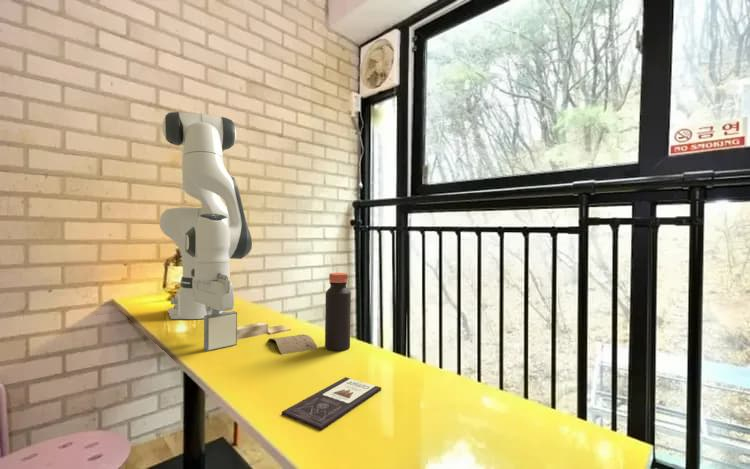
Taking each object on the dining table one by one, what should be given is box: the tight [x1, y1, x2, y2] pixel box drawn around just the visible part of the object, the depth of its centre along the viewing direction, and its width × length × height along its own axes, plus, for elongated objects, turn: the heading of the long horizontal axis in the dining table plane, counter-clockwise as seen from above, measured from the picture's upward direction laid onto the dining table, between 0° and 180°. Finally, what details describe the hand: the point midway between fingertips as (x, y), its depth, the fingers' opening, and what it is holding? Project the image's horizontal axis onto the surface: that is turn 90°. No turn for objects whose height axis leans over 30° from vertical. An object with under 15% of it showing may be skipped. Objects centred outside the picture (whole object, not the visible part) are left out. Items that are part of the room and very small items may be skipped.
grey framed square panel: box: [203, 310, 238, 352], centre depth 98 cm, size 2×8×9 cm, turn 135°
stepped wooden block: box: [237, 321, 292, 341], centre depth 112 cm, size 17×6×3 cm, turn 134°
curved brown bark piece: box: [267, 334, 318, 356], centre depth 101 cm, size 14×10×3 cm
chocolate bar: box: [281, 376, 382, 431], centre depth 68 cm, size 9×1×18 cm
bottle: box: [324, 272, 352, 352], centre depth 99 cm, size 7×7×20 cm
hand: (212, 322), depth 102 cm, fingers closed
